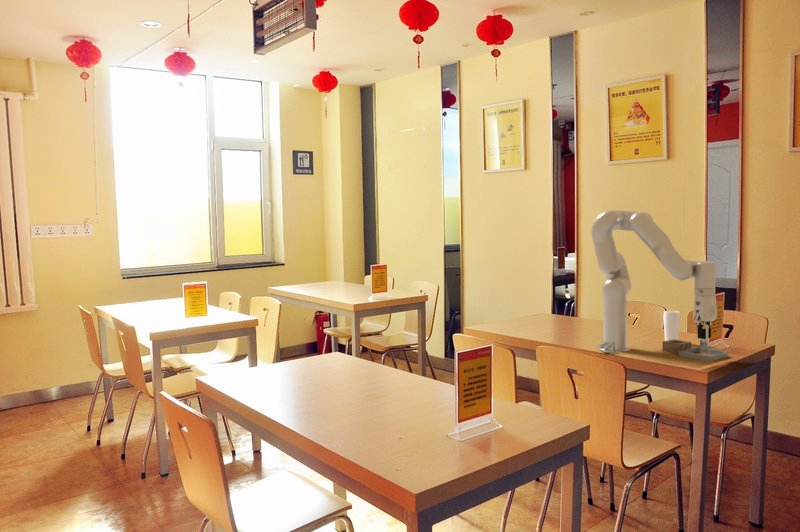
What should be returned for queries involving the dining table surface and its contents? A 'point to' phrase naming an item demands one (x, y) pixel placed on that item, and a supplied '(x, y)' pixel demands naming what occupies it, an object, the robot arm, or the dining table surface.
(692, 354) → the tray
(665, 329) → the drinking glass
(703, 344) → the pin
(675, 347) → the pin block
